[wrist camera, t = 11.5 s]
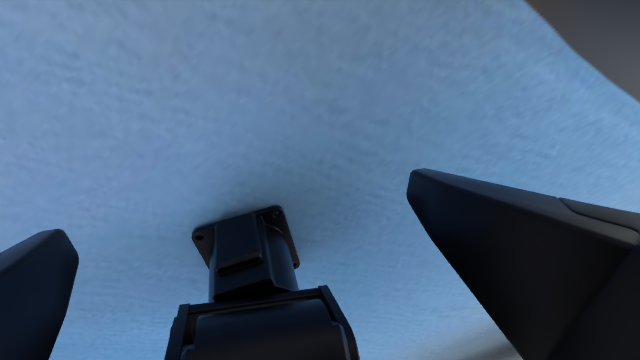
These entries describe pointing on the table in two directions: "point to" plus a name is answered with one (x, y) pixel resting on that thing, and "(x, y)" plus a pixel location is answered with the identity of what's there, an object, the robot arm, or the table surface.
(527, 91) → the table surface
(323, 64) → the table surface
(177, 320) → the robot arm
